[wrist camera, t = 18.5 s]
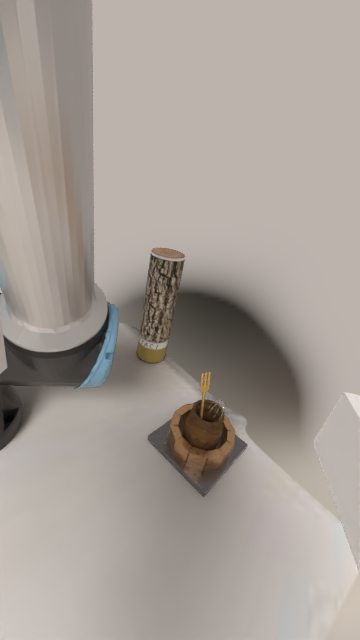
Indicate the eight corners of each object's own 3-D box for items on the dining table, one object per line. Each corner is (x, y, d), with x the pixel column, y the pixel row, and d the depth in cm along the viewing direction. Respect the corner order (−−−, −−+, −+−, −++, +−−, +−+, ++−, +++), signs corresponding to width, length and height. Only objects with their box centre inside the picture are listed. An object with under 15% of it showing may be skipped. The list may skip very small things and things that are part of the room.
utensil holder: (190, 462, 42) (209, 405, 36) (175, 429, 47) (189, 374, 41) (222, 452, 45) (244, 398, 39) (204, 422, 49) (221, 370, 44)
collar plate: (147, 439, 45) (151, 422, 43) (193, 406, 54) (198, 391, 52) (203, 496, 39) (210, 479, 37) (245, 448, 47) (252, 432, 45)
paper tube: (148, 344, 70) (164, 246, 58) (170, 355, 67) (191, 255, 55) (130, 355, 64) (144, 249, 53) (153, 368, 62) (173, 260, 50)
